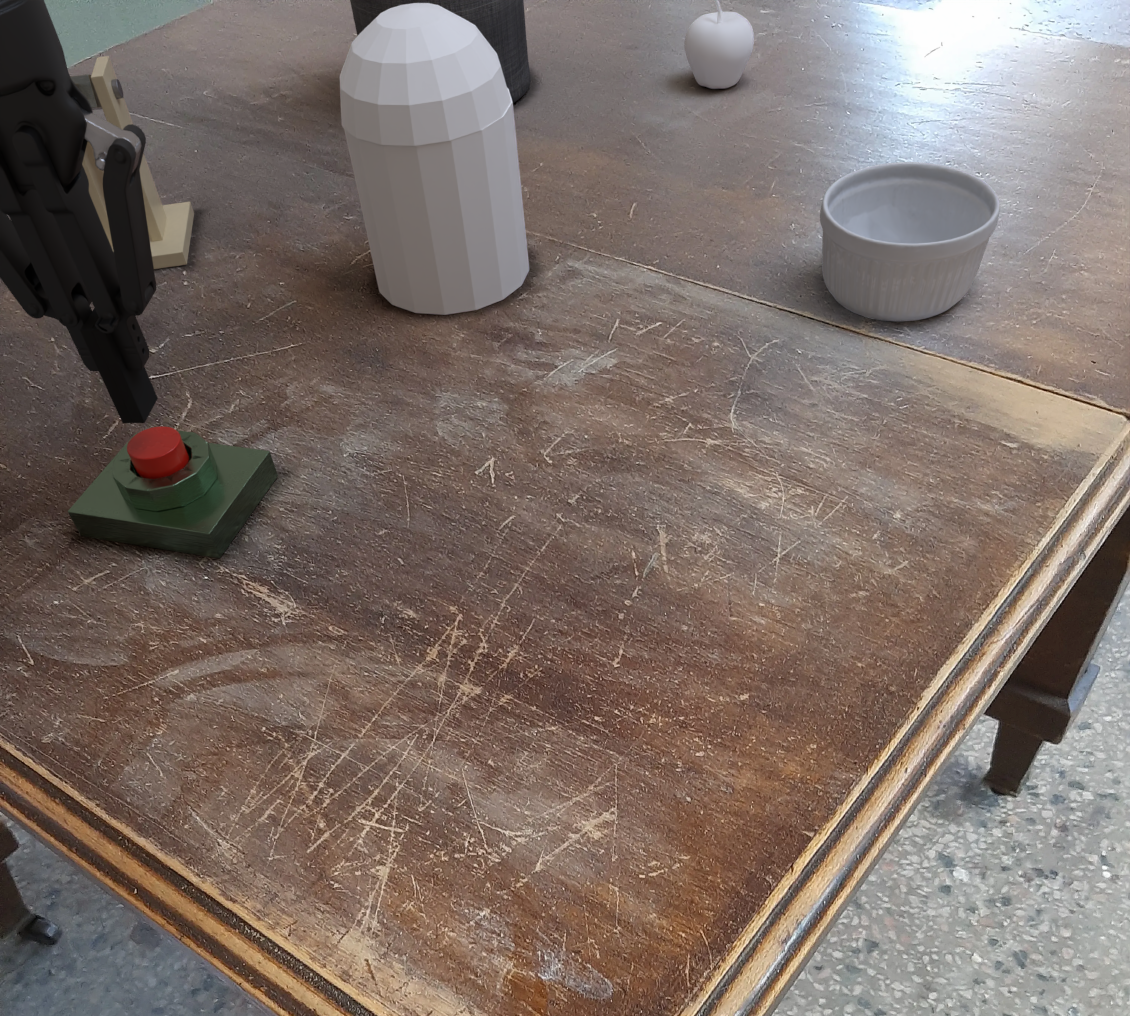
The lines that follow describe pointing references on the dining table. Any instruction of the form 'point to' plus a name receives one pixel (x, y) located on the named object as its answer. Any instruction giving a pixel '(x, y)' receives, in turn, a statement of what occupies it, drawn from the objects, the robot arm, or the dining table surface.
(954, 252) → the ramekin
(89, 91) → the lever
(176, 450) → the button
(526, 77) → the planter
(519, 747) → the dining table surface
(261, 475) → the green switch base
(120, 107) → the pendulum stand
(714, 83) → the plain white apple
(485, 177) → the container
